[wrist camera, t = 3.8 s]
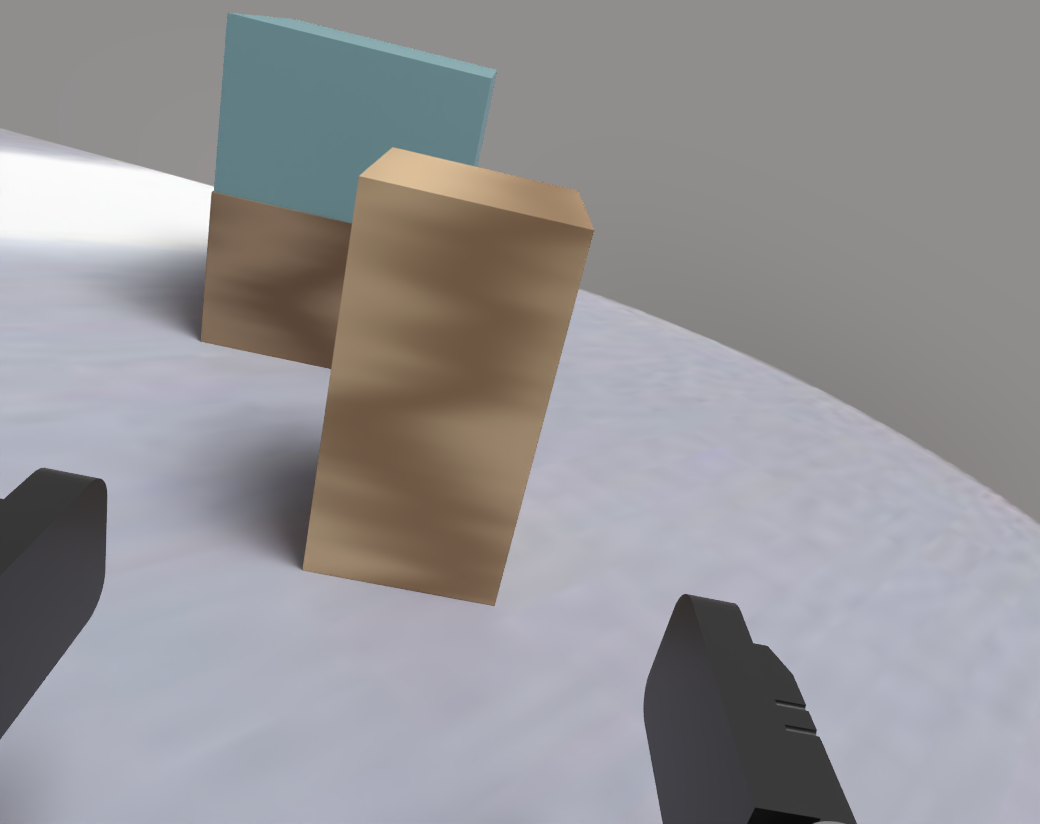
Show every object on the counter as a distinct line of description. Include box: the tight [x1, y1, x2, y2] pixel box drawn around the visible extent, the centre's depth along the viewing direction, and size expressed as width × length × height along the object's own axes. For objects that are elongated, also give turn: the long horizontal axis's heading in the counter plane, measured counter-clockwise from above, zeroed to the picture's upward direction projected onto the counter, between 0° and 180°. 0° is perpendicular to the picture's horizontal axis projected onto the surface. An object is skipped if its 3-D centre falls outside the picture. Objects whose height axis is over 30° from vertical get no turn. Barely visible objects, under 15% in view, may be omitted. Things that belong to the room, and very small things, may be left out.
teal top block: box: [214, 13, 497, 223], centre depth 33 cm, size 9×9×6 cm
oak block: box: [303, 147, 594, 606], centre depth 21 cm, size 5×5×10 cm
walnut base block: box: [201, 191, 352, 369], centre depth 35 cm, size 9×9×6 cm
